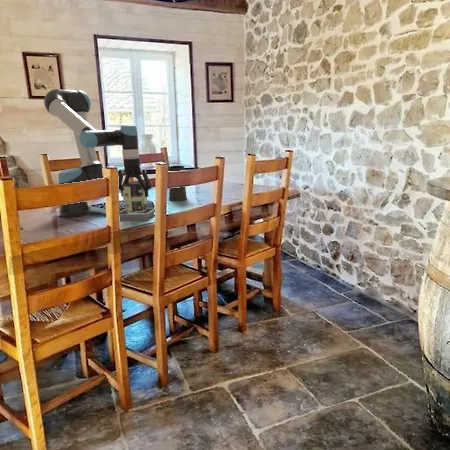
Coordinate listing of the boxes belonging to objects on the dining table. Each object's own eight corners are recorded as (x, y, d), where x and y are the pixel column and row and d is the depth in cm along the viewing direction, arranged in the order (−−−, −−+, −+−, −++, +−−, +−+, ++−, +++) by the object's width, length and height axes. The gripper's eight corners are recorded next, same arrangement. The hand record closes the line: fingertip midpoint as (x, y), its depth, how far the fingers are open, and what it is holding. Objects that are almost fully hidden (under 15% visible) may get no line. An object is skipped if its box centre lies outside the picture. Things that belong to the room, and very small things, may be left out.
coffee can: (149, 208, 199) (147, 181, 195) (141, 213, 189) (139, 184, 185) (131, 208, 201) (128, 181, 197) (122, 212, 191) (119, 184, 187)
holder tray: (114, 220, 190) (113, 214, 189) (129, 212, 205) (128, 207, 204) (144, 221, 186) (144, 215, 186) (157, 213, 201) (157, 208, 201)
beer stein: (188, 200, 232) (186, 166, 227) (170, 201, 230) (168, 167, 224) (184, 196, 247) (182, 164, 241) (167, 197, 244) (165, 165, 239)
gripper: (156, 157, 189) (159, 202, 195) (113, 157, 194) (118, 201, 200) (150, 158, 182) (153, 205, 188) (106, 159, 187) (111, 204, 193)
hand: (135, 203), depth 194 cm, fingers closed on coffee can, 10 cm apart
